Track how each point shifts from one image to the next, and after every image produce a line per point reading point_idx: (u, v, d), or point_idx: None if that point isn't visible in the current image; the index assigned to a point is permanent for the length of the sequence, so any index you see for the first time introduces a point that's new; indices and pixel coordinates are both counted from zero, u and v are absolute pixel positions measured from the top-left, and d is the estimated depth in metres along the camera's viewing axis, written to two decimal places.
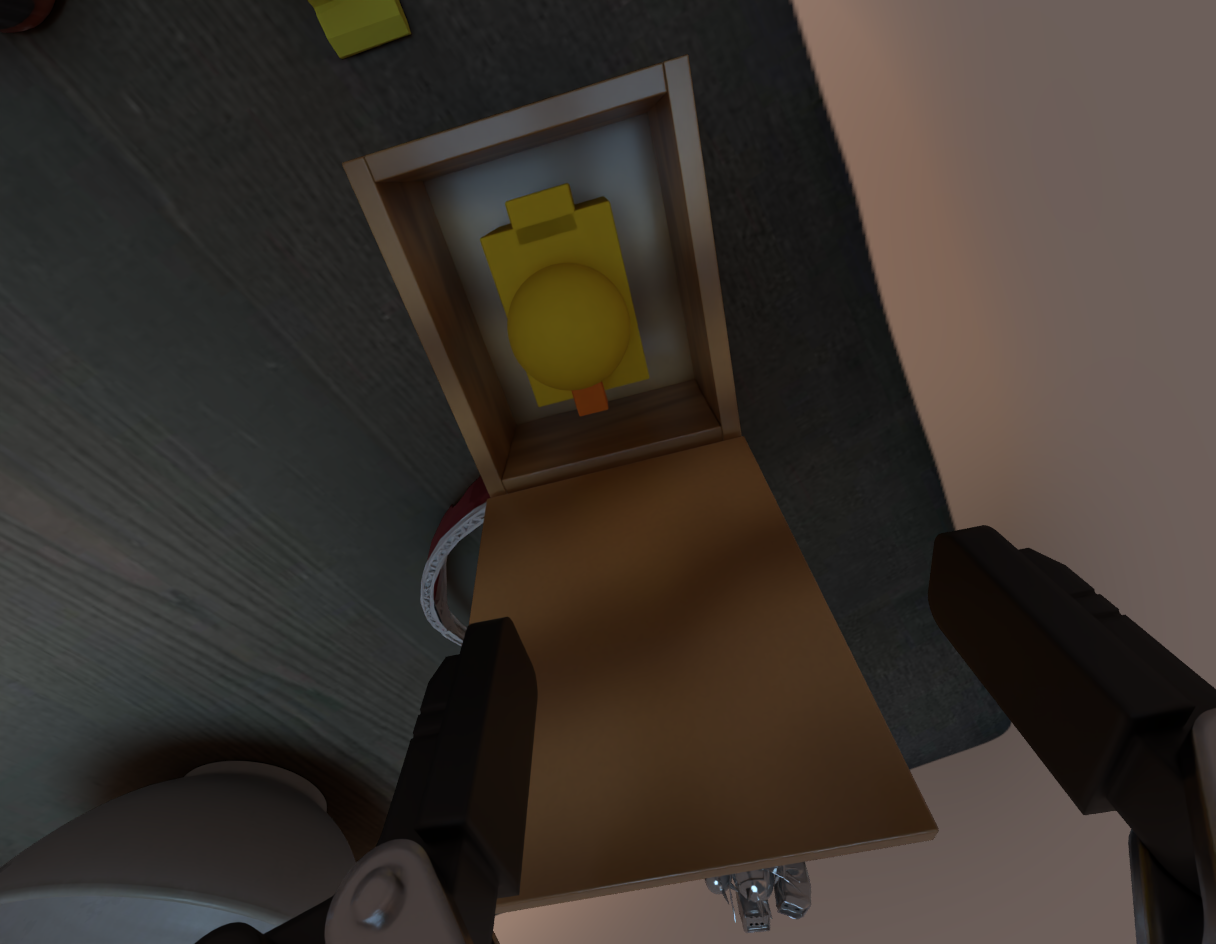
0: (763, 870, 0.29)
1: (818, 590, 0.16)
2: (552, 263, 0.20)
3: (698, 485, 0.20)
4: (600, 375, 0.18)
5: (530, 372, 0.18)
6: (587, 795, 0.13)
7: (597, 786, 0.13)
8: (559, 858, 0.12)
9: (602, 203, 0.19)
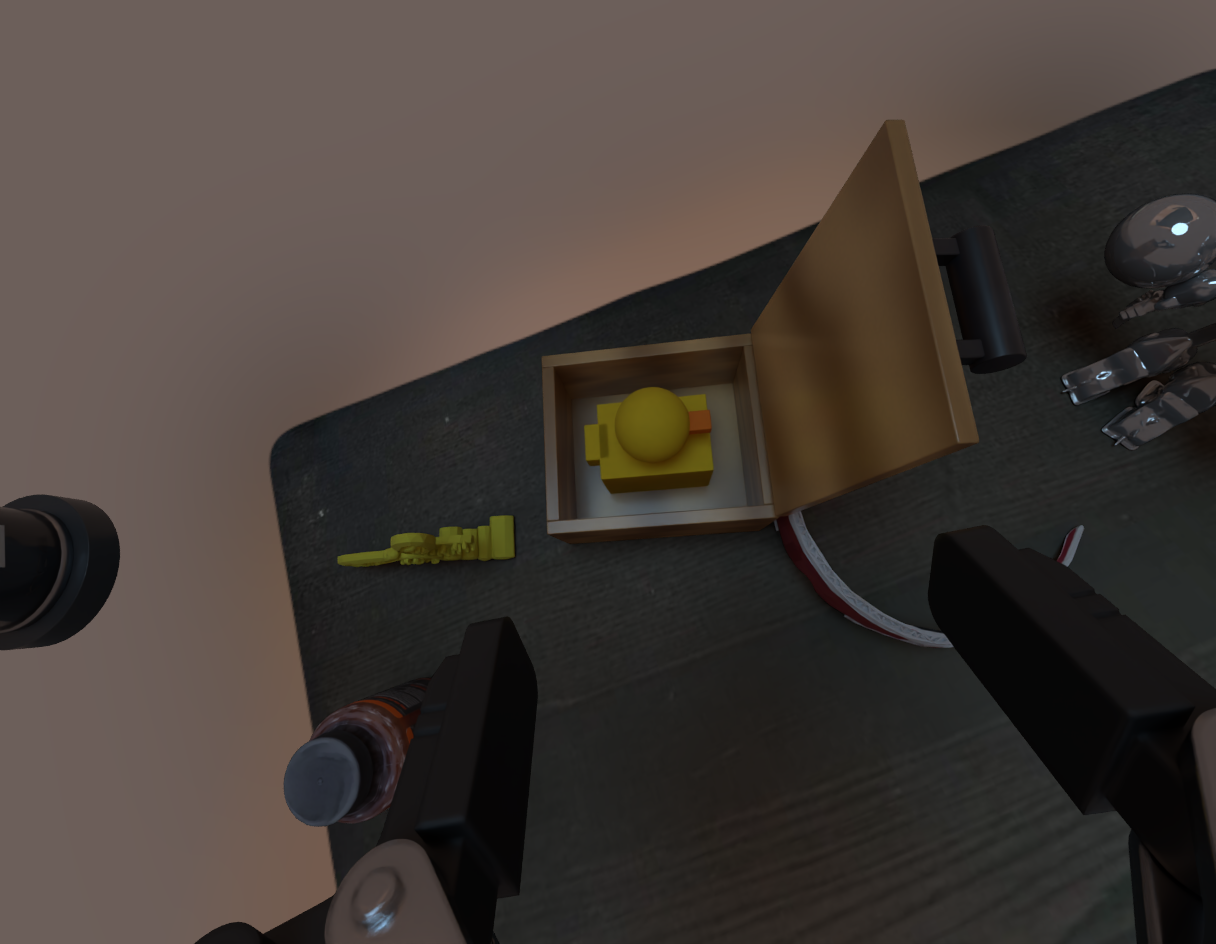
0: None
1: (807, 242, 0.24)
2: None
3: (769, 349, 0.29)
4: (676, 402, 0.29)
5: (668, 444, 0.28)
6: (893, 348, 0.18)
7: (889, 343, 0.18)
8: (921, 352, 0.16)
9: (597, 408, 0.33)
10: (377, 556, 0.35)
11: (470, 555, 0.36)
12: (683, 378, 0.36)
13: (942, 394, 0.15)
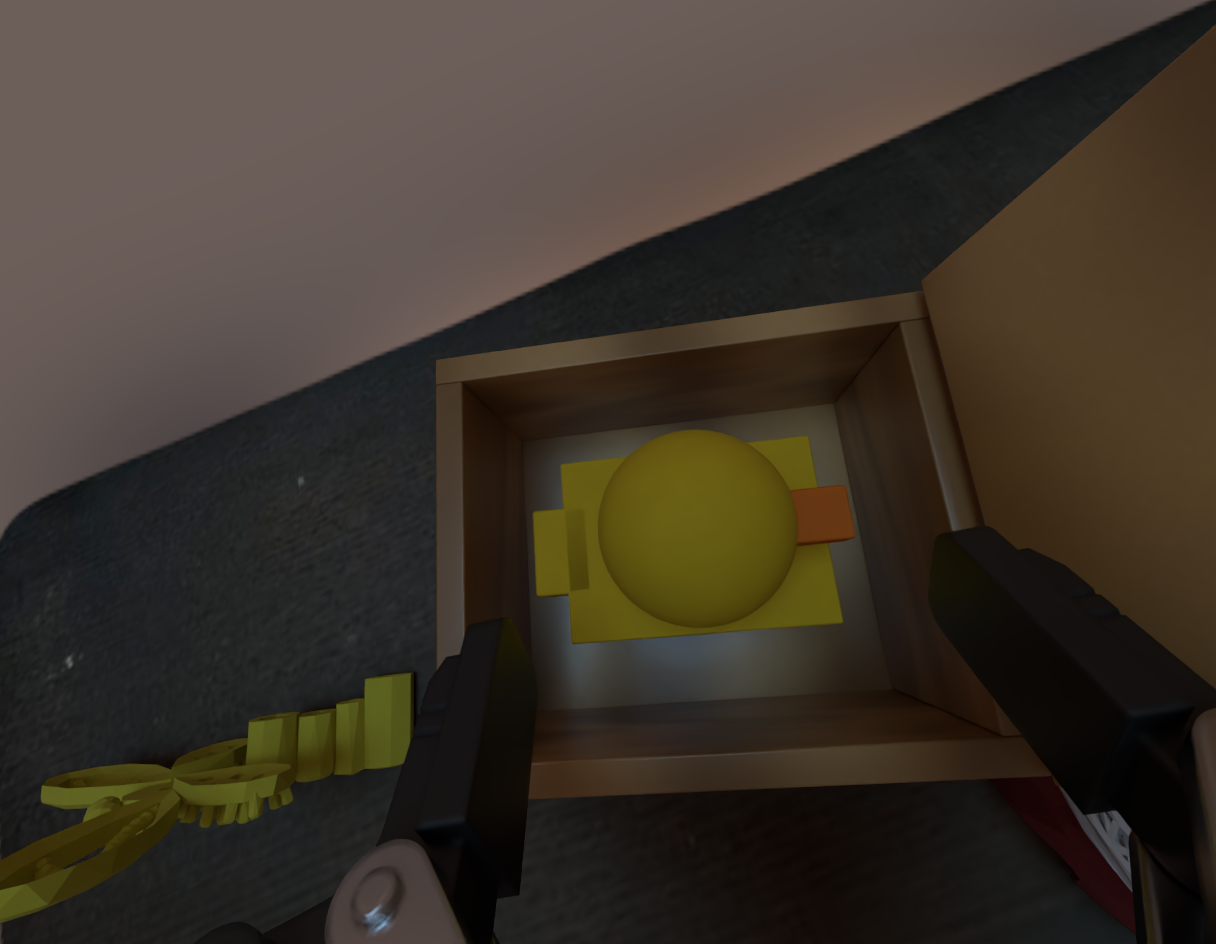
0: None
1: None
2: None
3: (1031, 317, 0.10)
4: (767, 474, 0.10)
5: (749, 597, 0.10)
6: None
7: None
8: None
9: (561, 472, 0.15)
10: None
11: (313, 774, 0.17)
12: (741, 397, 0.18)
13: None
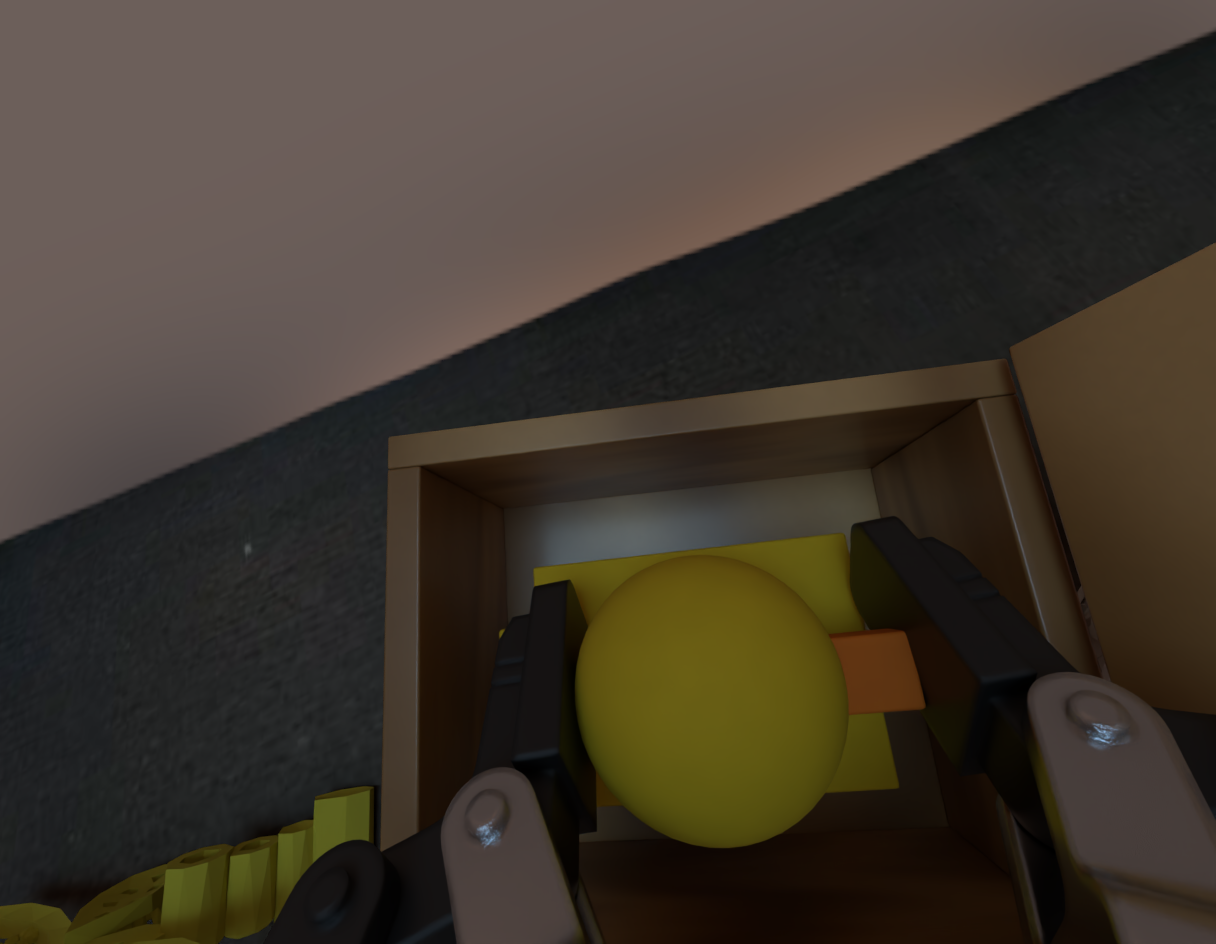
0: None
1: None
2: None
3: (1213, 425, 0.07)
4: (808, 640, 0.07)
5: (787, 824, 0.07)
6: None
7: None
8: None
9: (534, 579, 0.12)
10: None
11: (245, 929, 0.14)
12: (763, 467, 0.15)
13: None
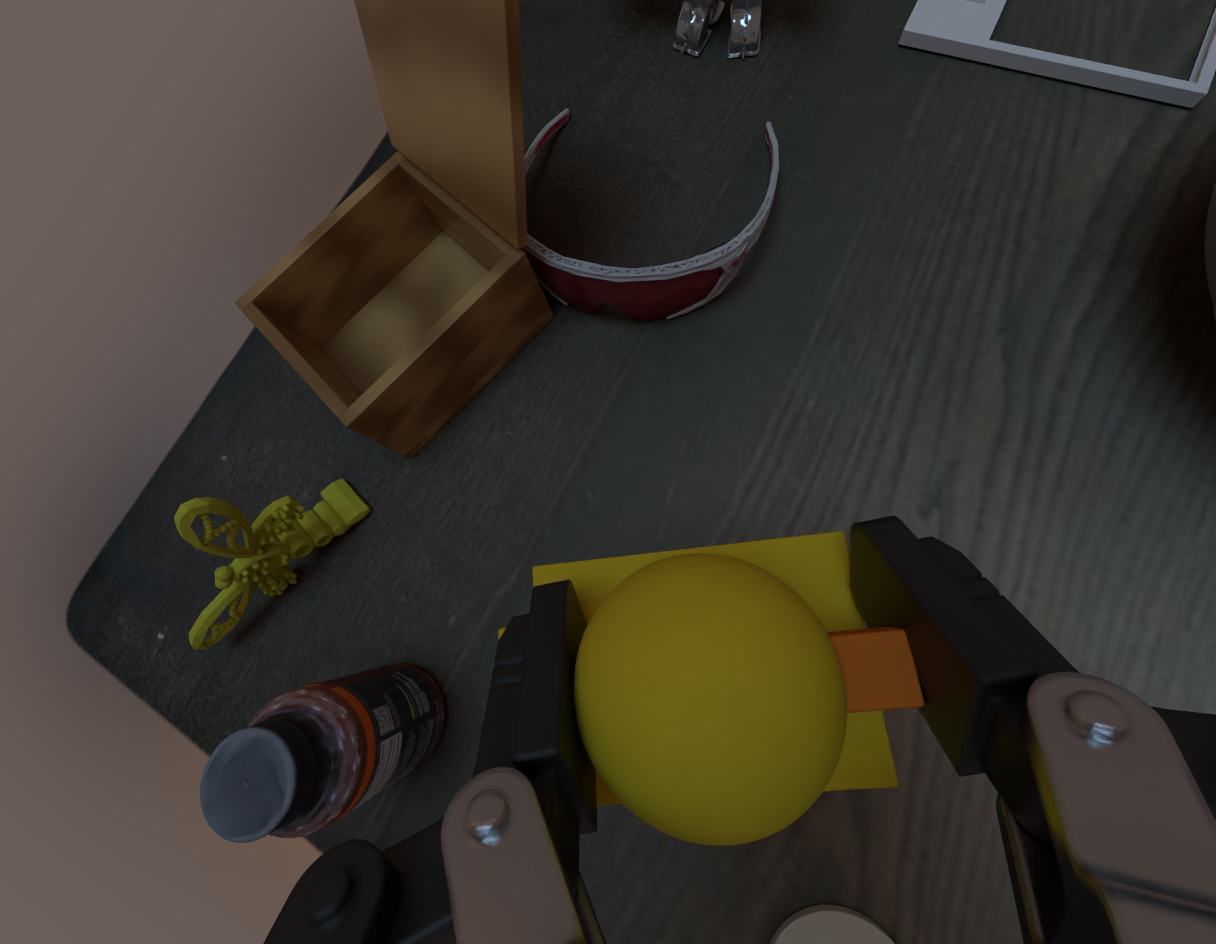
0: None
1: None
2: None
3: (406, 123, 0.28)
4: (806, 638, 0.07)
5: (785, 822, 0.07)
6: None
7: None
8: None
9: (533, 578, 0.12)
10: (220, 599, 0.29)
11: (320, 533, 0.31)
12: (392, 249, 0.35)
13: None
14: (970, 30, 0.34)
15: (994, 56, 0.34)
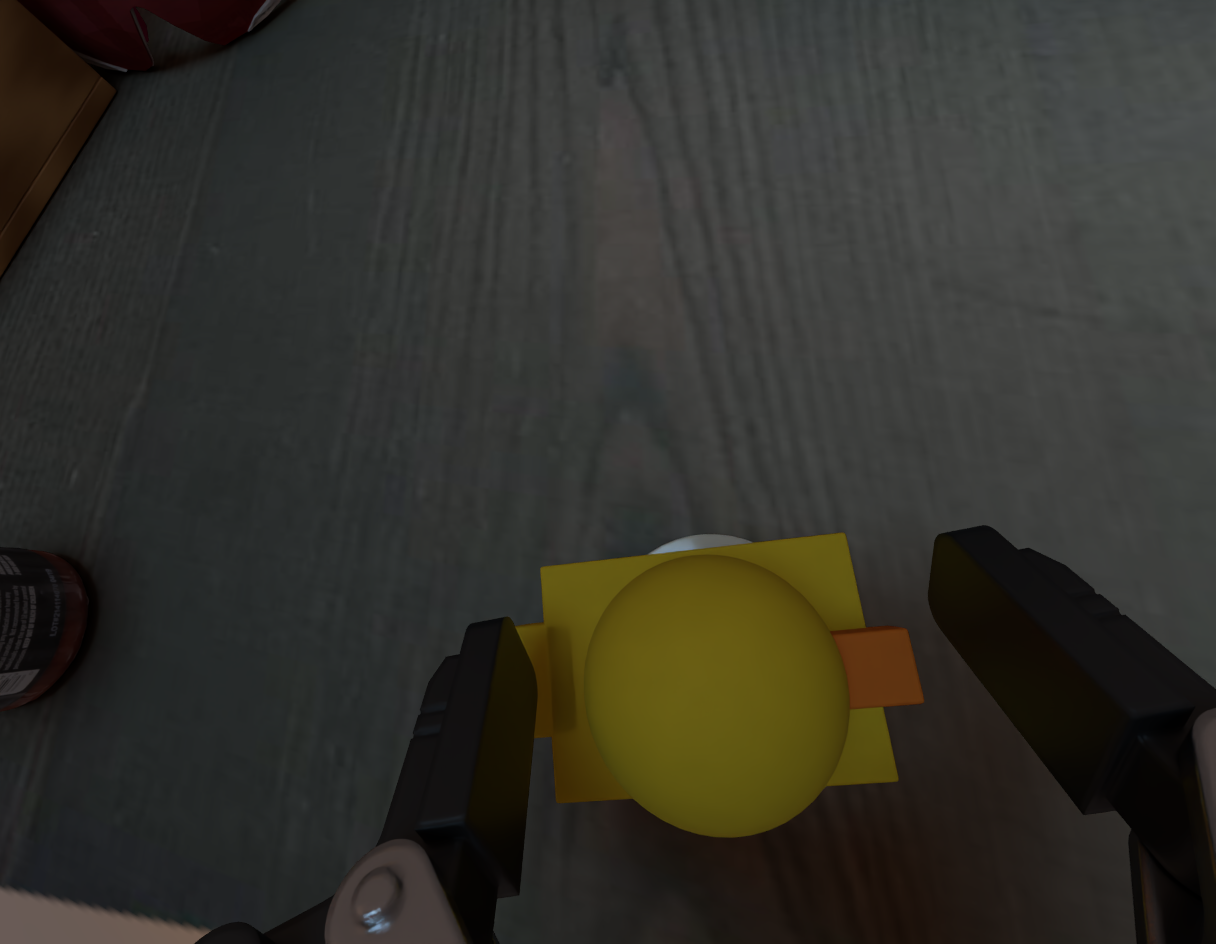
0: None
1: None
2: None
3: None
4: (810, 637, 0.08)
5: (790, 814, 0.07)
6: None
7: None
8: None
9: (541, 578, 0.12)
10: None
11: None
12: None
13: None
14: None
15: None
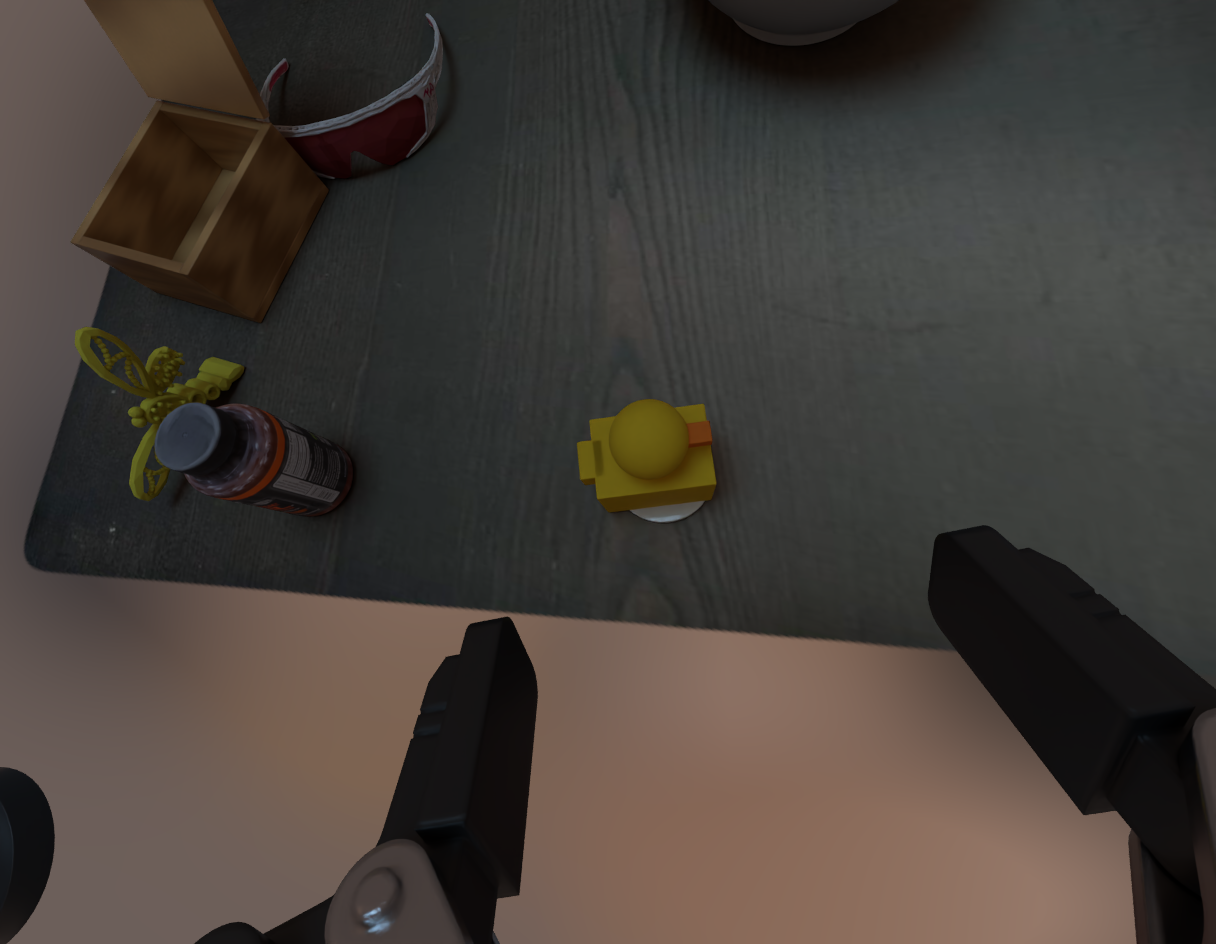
0: None
1: None
2: None
3: (148, 65, 0.39)
4: (674, 414, 0.27)
5: (667, 460, 0.27)
6: None
7: None
8: None
9: (590, 423, 0.31)
10: (144, 444, 0.37)
11: (207, 385, 0.40)
12: (185, 186, 0.45)
13: None
14: None
15: None
